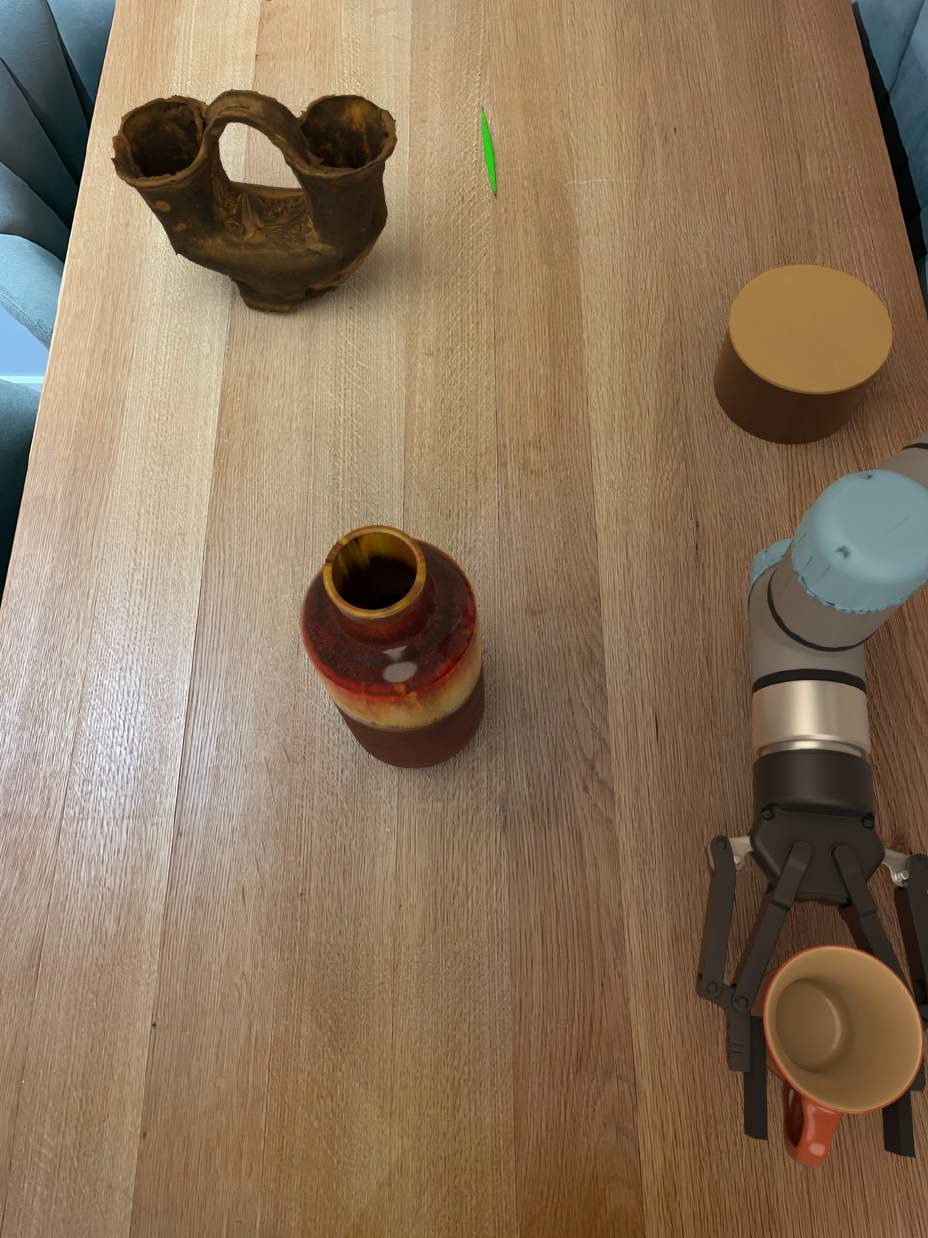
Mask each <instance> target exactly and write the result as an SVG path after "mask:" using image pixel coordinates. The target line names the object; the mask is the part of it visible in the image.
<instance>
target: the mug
mask: <svg viewBox="0 0 928 1238" xmlns="http://www.w3.org/2000/svg"><path fill="white" fill-rule="evenodd" d="M751 1016H761V1017H763V1026H764V1032H765V1037H766V1068H767V1070H768V1071H769V1072H770V1073H771V1075H773V1076H774V1077H775V1078H777V1079H779V1080H781V1083H782V1084H781V1085H782V1086H781V1101H782V1114H783V1118H782V1121H783V1122H782V1138H783V1144H784V1149H785V1150H786V1153H787V1155H788V1156H789V1158H790V1159H791V1160H792V1161H794V1162H795V1163H798V1164H799V1165H802V1166H805V1167H807V1168H811V1169H818V1168H822V1166H823V1165H824V1164H825V1163H826V1161H827V1160H828V1157H829V1155H830V1151H831V1148H832V1143H833V1139H834V1136H835V1133H836V1130H837V1129H838V1127H839V1125H840V1123H841V1121H842V1118H843V1115H844V1114H849V1115H864V1114H869V1113H872V1112H876V1111H878V1110H882V1108H883V1107H885V1106H887V1105H889V1104H891V1103H893V1102H894V1101H896V1100H897V1099H898V1098H899V1097H901V1096H902V1095H903V1094H904V1093H905V1092H906V1091H907V1089H908V1088H909V1087H910V1085H911V1084H912V1083H913V1081H914V1079H915V1077H916V1075H917V1073H918V1071H919V1068H920V1065H921V1062H922V1057H923V1055H924V1050H925V1035H924V1033H925V1032H924V1033H923V1025H922V1020H921V1017H920V1013H919V1010H918V1008H917V1005H916V1003H915V1001H914V999H913V997H912V995H911V993H910V991H909V990H908V988H907V987H906V985H905V984H904V982H903V981H902V980H901V979H900V978H899V976H898V975H897V974H896V973H895V972H894V971H893V970H892V969H891V968H890V967H888V966H887V965H886V964H885V963H883V962H882V961H881V960H879V959H878V958H876V957H874V956H873V955H871V954H869V953H867V952H865V951H862V950H860V949H857V947H853V946H850V945H844V944H837V943H825V944H818V945H813V946H810V947H806V948H804V949H802V950H800V951H798V952H796V953H795V954H793V955H791V956H790V957H789V958H788V959H787V960H786V961H784V962H783V963H782V964H779V965H777V966H776V967H774V968H772V969H770V970H768V972H765V974H764V977H763V979H762V982H761V985H760V987H759V990H758V993H757V995H756V998H755V1001H754V1003H753V1006H752V1008H751Z"/></svg>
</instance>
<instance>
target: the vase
mask: <svg viewBox="0 0 928 1238" xmlns="http://www.w3.org/2000/svg"><path fill="white" fill-rule="evenodd" d="M299 623H300V635H301V639H302V643H303V647H304V649H305V652H306V654H307V656H308V658H309V661H310V663H311V664H312V667H313V669H314V670H315V672H316V674H317V676H318V678H319V680H320V681H321V683H322V685H323V686H324V688H325V690H326V692H327V694H328V695H329V697H330V698H331V700H332V702H333V704H334V705H335V707H336V710H337V711H338V712H339V714H340V716H341V718H342V719H343V721H344V723H345V724H346V726H347V728H348V729H349V730H350V732H351V734H352V736H353V737H354V739H355V740H356V741H357V742H358V744H359V745H360V746H361V747H362V748H363V750H365V751H366V752H367V753H368V754H370V755H371V756H372V757H374V758H375V759H376V760H379V761H380V762H382V763H384V764H387V765H389V766H392V767H396V768H401V769H415V770H416V769H423V768H424V769H425V768H430V767H433V766H434V767H435V766H437V765H440V764H442V763H444V762H446V761H448V760H450V759H451V758H453V757H455V756H456V755H458V754H459V753H460V752H462V750H463V749H464V748H465V747H467V746H468V744H470V742H471V740H473V738H474V736H475V735H476V733H477V731H478V730H479V727H480V725H481V722H482V719H483V716H484V711H485V705H486V704H485V699H486V698H485V697H486V686H485V685H486V684H485V674H484V660H483V647H482V637H481V626H480V619H479V612H478V605H477V599H476V595H475V592H474V589H473V585H472V584H471V582H470V580H469V578H468V576H467V574H466V572H465V571H464V570H463V568H462V567H461V566H460V564H459V563H458V562H457V561H456V560H455V559H454V558H453V557H452V556H451V555H449V553H447V552H445V551H444V550H442V549H441V548H439V547H438V546H436V545H434V544H433V543H430V542H428V541H426V540H423V539H419V538H416V537H412V536H411V535H409V534H408V533H406V532H405V531H403V530H401V529H399V528H397V527H394V526H390V525H384V524H372V525H365V526H361V527H358V528H356V529H353V530H351V531H349V532H348V533H346V534H343V536H342V537H340V539H338V540H337V541H336V543H334V544H333V545H332V547H331V549H330V550H329V552H328V553H327V556H326V558H325V559H324V563H323V564H322V566H321V567H320V568H319V569H318V570H317V572H316V574H315V575H314V576H313V578H312V579H311V580H310V583H309V585H308V586H307V589H306V591H305V594H304V597H303V600H302V603H301V609H300V618H299Z"/></svg>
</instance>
